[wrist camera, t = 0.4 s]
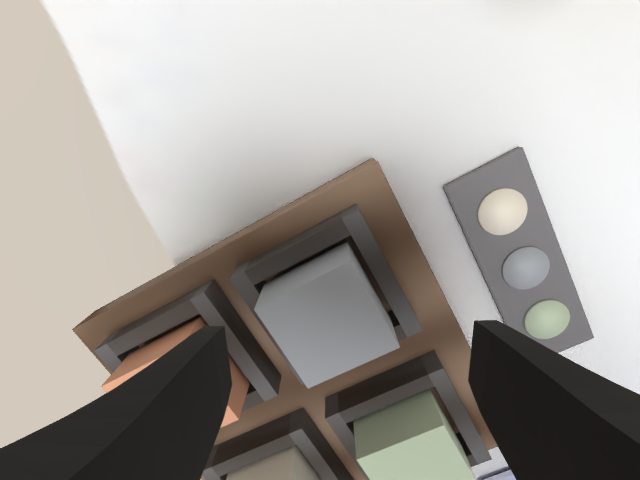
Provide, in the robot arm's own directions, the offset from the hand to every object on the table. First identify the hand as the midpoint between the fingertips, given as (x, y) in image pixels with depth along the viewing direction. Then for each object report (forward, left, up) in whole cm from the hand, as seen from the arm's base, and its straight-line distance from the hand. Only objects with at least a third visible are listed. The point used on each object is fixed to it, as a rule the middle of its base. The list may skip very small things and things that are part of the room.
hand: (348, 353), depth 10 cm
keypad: (-6, +5, -9) cm, 12 cm away
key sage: (-10, +1, -6) cm, 12 cm away
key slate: (-1, +1, -6) cm, 7 cm away
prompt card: (-6, -8, -9) cm, 14 cm away
